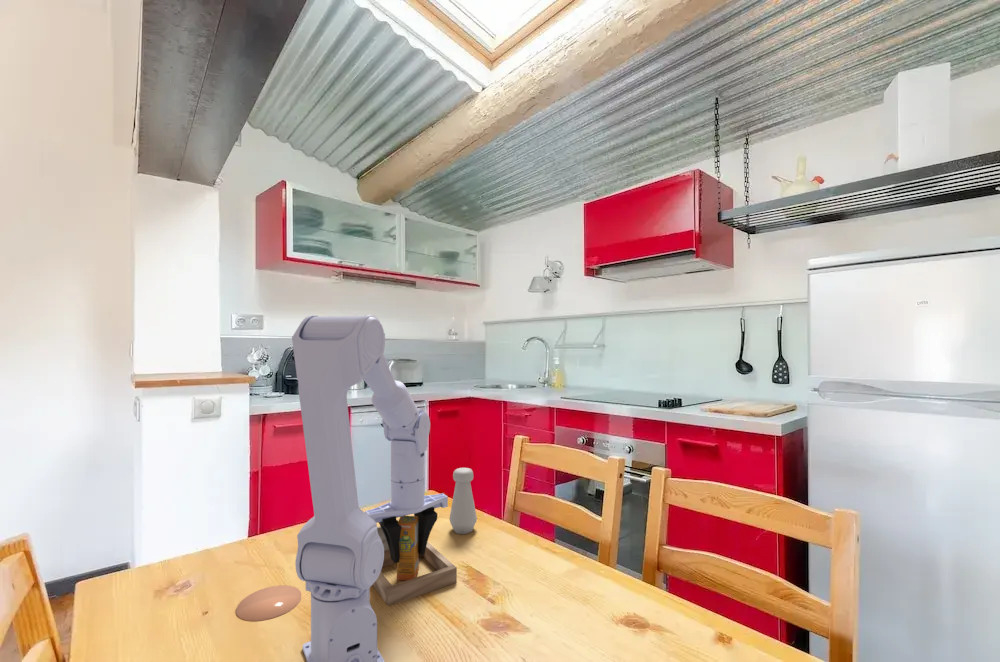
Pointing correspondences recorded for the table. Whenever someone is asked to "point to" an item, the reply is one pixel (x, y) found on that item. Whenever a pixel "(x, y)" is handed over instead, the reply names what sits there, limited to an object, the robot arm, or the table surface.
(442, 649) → the table surface
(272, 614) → the saucer
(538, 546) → the table surface
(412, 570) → the supplement box
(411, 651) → the table surface
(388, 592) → the brown open rectangular frame
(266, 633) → the table surface
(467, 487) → the salt shaker
